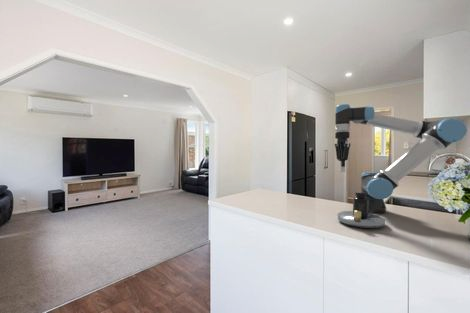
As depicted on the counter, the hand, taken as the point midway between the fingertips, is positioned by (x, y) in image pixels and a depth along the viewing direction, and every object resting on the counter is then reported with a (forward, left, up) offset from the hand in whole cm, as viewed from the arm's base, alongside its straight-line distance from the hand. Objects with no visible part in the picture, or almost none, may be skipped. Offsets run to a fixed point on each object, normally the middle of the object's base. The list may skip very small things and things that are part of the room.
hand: (341, 171), depth 131 cm
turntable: (-5, +17, -23) cm, 29 cm away
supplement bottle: (-5, +17, -21) cm, 28 cm away
